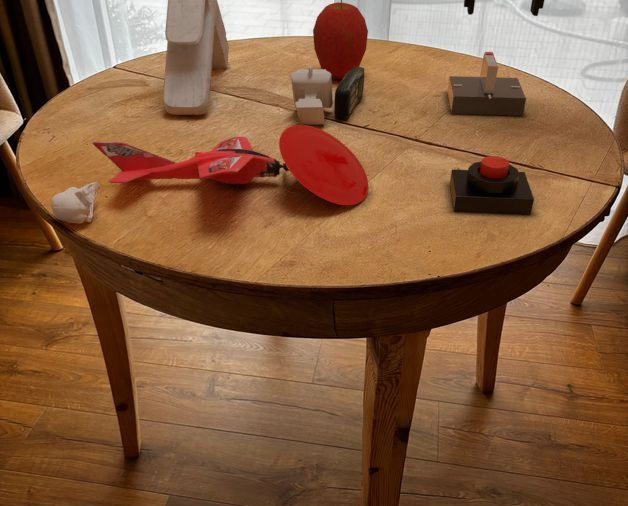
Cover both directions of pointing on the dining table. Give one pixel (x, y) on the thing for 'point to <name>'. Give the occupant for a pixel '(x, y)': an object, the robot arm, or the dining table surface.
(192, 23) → the leaning slabs
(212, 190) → the dining table surface
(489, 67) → the tap handle
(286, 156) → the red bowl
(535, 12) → the robot arm
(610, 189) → the dining table surface
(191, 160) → the toy airplane
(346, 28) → the apple
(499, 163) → the button
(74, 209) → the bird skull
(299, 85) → the white blocky device
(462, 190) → the button block
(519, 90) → the base
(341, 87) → the mobile phone
